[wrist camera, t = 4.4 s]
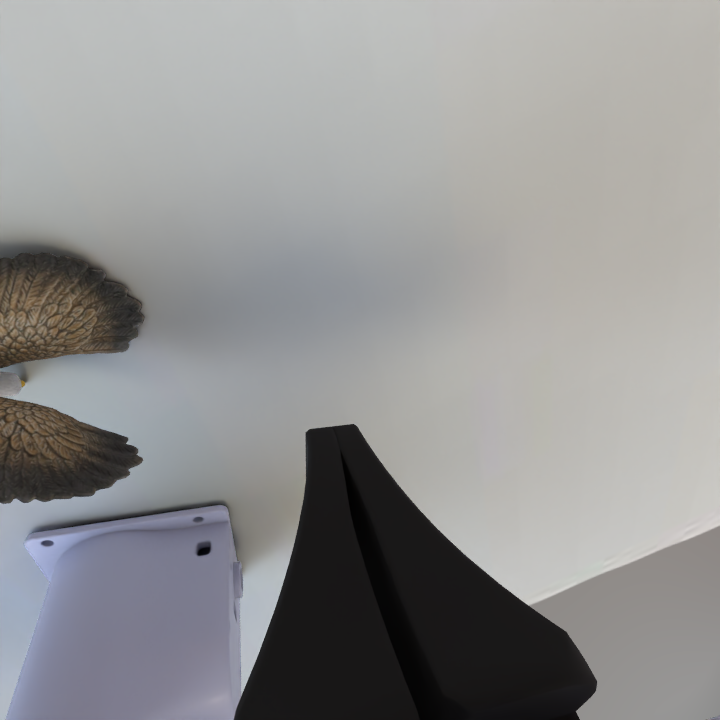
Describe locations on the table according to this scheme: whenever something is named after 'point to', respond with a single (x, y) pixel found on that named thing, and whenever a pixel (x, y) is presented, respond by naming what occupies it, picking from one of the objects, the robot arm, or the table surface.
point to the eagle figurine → (49, 340)
